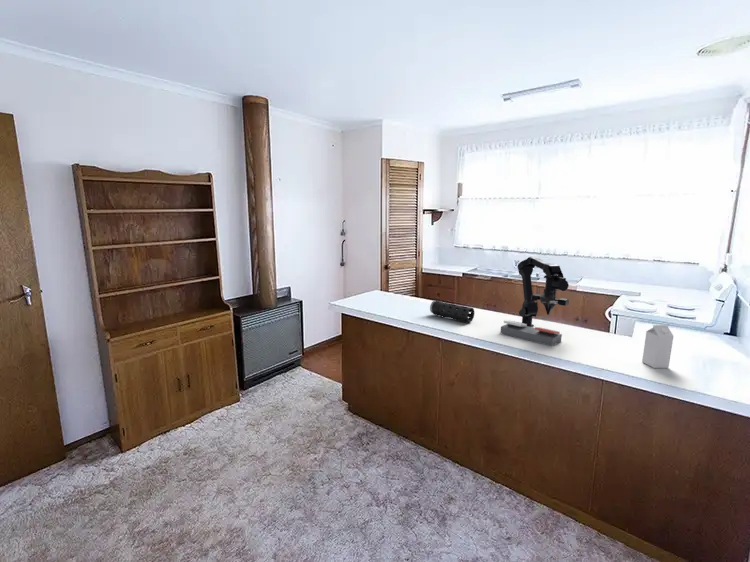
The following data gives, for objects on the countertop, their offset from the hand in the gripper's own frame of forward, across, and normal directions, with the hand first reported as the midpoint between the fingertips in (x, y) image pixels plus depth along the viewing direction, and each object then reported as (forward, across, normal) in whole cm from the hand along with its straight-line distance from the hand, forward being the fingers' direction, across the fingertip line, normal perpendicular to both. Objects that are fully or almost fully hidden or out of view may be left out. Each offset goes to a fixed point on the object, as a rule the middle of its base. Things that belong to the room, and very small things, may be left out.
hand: (548, 314), depth 215 cm
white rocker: (+6, -14, -10) cm, 18 cm away
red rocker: (+6, +4, -10) cm, 12 cm away
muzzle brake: (+12, -56, -12) cm, 59 cm away
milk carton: (+12, +52, -7) cm, 54 cm away
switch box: (+12, -5, -10) cm, 16 cm away
